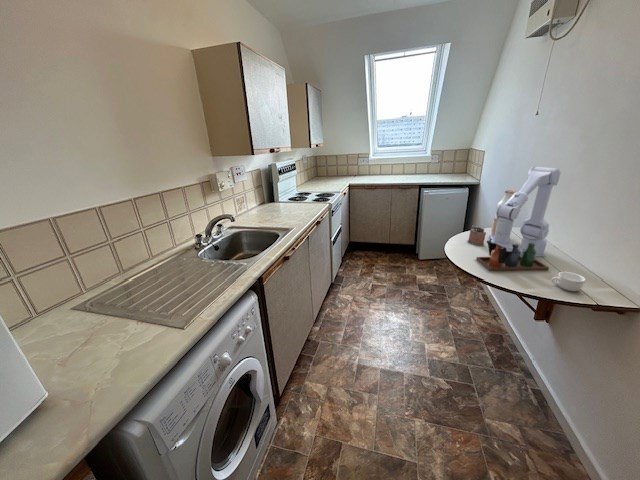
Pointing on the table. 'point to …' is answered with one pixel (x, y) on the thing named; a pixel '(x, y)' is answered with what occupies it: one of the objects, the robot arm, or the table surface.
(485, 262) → the tray
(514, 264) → the slate-blue bottle
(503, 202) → the fruit juice
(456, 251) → the table surface
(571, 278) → the teacup
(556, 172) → the robot arm
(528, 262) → the green bottle
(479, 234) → the lighter
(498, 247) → the terracotta bottle
